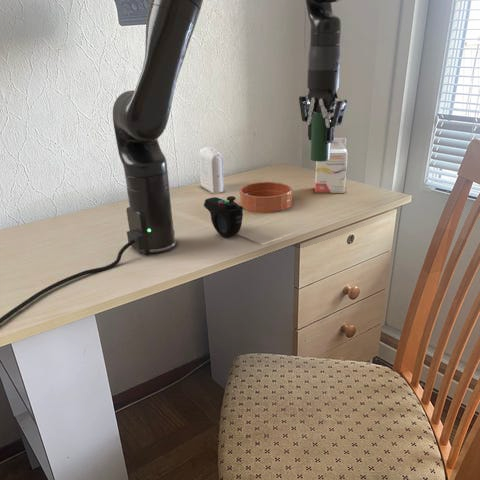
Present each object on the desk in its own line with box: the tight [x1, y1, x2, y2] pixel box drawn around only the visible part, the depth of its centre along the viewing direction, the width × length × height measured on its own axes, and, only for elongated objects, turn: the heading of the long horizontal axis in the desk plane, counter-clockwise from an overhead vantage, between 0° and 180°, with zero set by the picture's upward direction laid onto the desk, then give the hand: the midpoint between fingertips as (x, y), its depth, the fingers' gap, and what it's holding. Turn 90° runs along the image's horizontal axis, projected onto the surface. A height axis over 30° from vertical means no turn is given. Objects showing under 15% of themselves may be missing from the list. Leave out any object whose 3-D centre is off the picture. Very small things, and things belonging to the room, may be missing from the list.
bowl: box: [239, 181, 293, 214], centre depth 142 cm, size 14×14×4 cm
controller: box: [203, 195, 245, 238], centre depth 123 cm, size 4×12×10 cm, turn 37°
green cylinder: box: [309, 112, 331, 162], centre depth 130 cm, size 5×5×11 cm
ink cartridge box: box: [314, 137, 348, 194], centre depth 149 cm, size 9×5×15 cm, turn 84°
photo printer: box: [198, 146, 225, 194], centre depth 155 cm, size 10×4×12 cm, turn 28°
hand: (320, 141), depth 131 cm, fingers closed on green cylinder, 5 cm apart
